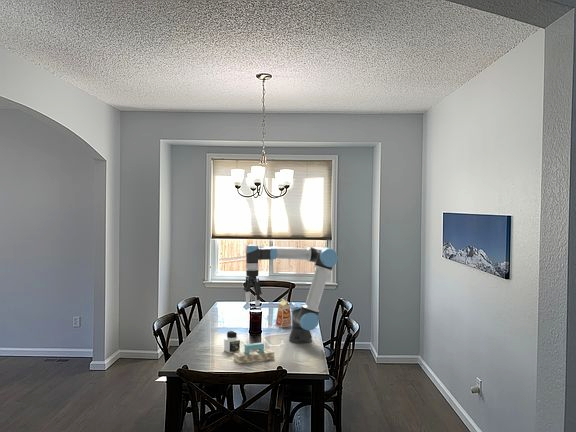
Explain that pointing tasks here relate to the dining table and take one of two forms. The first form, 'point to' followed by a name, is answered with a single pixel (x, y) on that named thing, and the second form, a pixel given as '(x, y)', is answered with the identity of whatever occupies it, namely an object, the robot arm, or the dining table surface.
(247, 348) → the teal arch block
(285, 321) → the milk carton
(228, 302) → the dining table surface
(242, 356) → the cream toy brick
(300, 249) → the robot arm
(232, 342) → the medicine bottle
